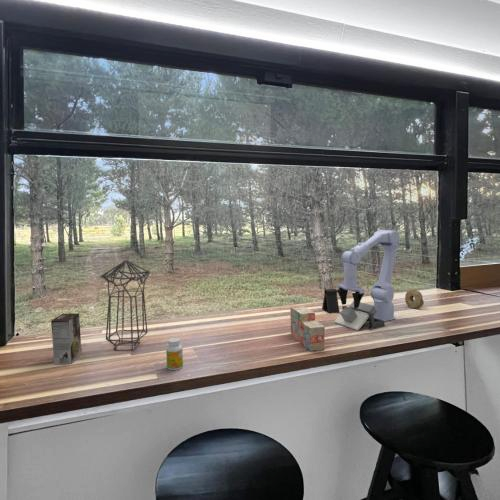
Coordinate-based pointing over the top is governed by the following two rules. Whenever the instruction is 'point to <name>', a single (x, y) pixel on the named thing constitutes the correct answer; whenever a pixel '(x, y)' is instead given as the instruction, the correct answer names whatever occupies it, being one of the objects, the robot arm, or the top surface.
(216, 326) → the top surface
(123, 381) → the top surface
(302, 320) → the stack of blocks
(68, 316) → the coffee box
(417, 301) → the stone disc
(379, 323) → the frame
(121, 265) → the geometric lantern
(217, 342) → the top surface
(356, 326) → the trapdoor
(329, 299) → the phone stand
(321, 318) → the top surface
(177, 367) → the supplement bottle
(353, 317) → the stone block
